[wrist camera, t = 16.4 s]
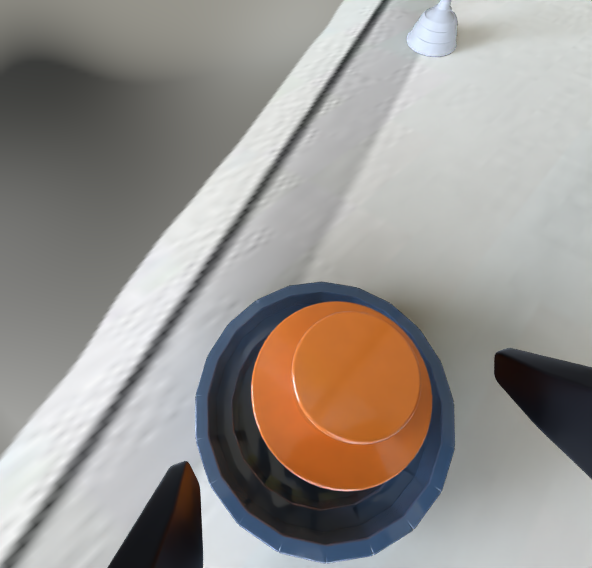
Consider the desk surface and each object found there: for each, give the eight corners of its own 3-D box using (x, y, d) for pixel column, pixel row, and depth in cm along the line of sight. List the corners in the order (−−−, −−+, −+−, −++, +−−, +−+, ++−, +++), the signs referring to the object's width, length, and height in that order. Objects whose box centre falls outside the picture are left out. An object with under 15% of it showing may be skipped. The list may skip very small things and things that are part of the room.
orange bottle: (367, 363, 19) (467, 275, 8) (364, 463, 17) (498, 539, 6) (279, 352, 19) (257, 253, 8) (266, 450, 17) (210, 498, 6)
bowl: (449, 362, 19) (485, 347, 16) (374, 584, 15) (398, 636, 11) (280, 278, 21) (276, 248, 18) (173, 450, 17) (140, 458, 14)
